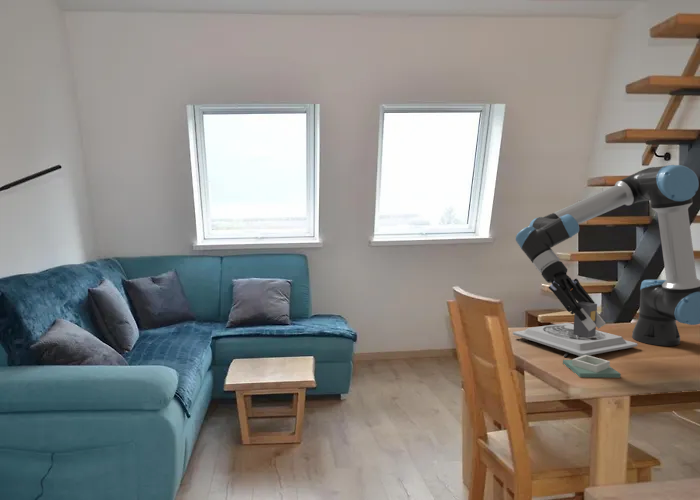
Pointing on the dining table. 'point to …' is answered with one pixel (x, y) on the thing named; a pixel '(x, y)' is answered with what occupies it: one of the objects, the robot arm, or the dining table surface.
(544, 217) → the robot arm
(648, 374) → the dining table surface
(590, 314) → the plug
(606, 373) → the header board
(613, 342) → the ventilation fan
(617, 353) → the dining table surface
